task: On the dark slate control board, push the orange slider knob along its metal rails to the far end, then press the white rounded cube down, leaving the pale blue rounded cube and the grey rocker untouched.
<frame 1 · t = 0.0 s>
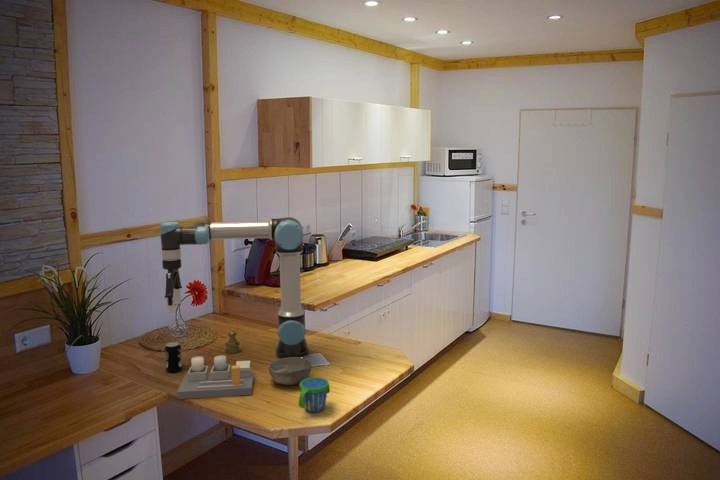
hand: (174, 308, 244), 28 cm above the table, fingers open, 13 cm apart
white rounded cube: (197, 364, 232), point 9 cm above the table, slide at 0.0 cm
orange slider: (236, 375, 225), point 7 cm above the table, slide at 0.0 cm
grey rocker: (243, 366, 234), point 7 cm above the table, hinge at -15.0°
pale blue rounded cube: (220, 363, 233), point 9 cm above the table, slide at 0.0 cm
console: (217, 387, 230), on the table
snack cup: (314, 409, 211), on the table
bowl: (290, 382, 236), on the table
green figurine: (233, 351, 272), on the table
beverage can: (174, 370, 249), on the table
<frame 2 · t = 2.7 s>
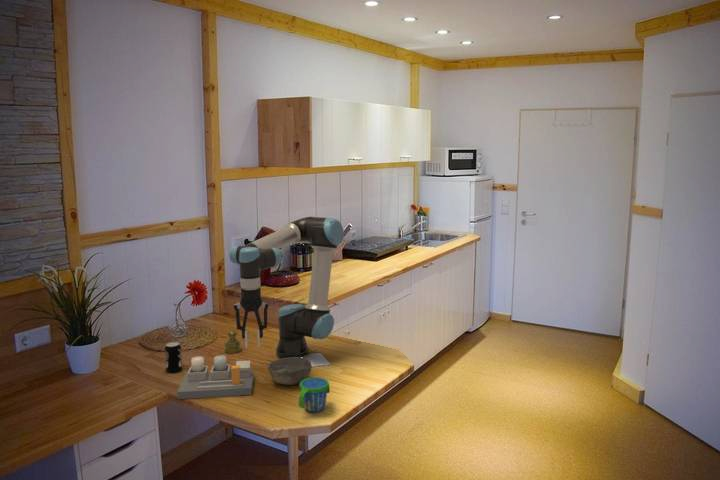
hand: (252, 345, 224), 19 cm above the table, fingers open, 4 cm apart
nothing on the table moved.
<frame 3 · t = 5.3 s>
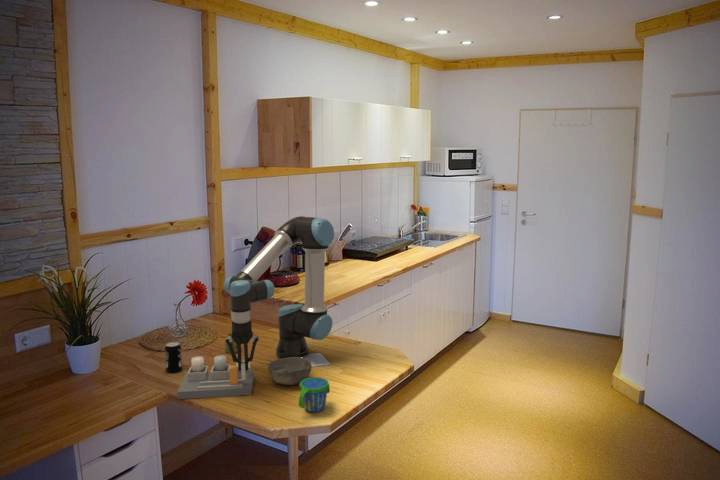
hand: (243, 378, 226), 6 cm above the table, fingers closed
orange slider: (233, 375, 225), point 7 cm above the table, slide at 0.9 cm, touching gripper
everything else where it was.
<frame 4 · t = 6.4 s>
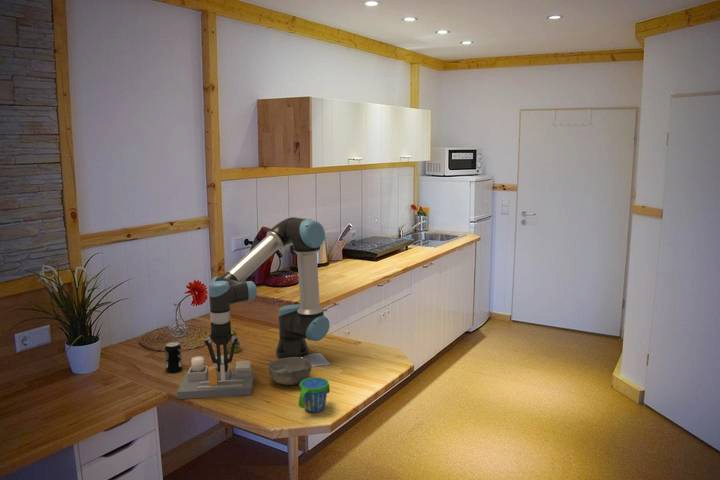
hand: (223, 379, 225), 6 cm above the table, fingers closed
orange slider: (213, 376, 224), point 7 cm above the table, slide at 8.8 cm, touching gripper
everything else where it was.
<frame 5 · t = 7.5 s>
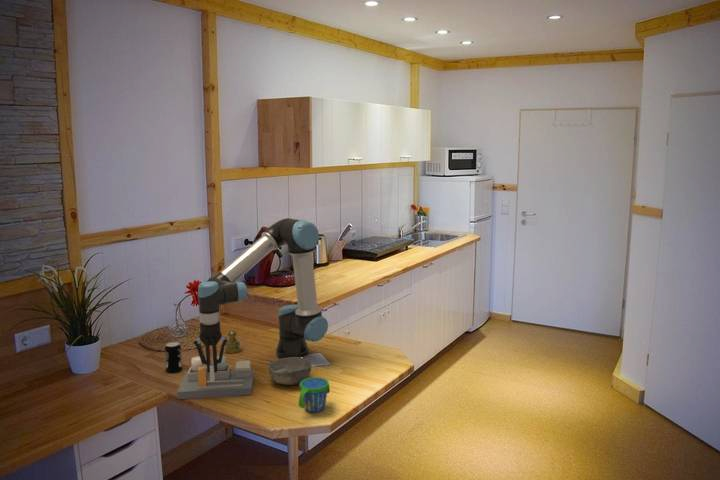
hand: (212, 379, 224), 5 cm above the table, fingers closed
orange slider: (202, 377, 224), point 7 cm above the table, slide at 12.9 cm, touching gripper
everything else where it was.
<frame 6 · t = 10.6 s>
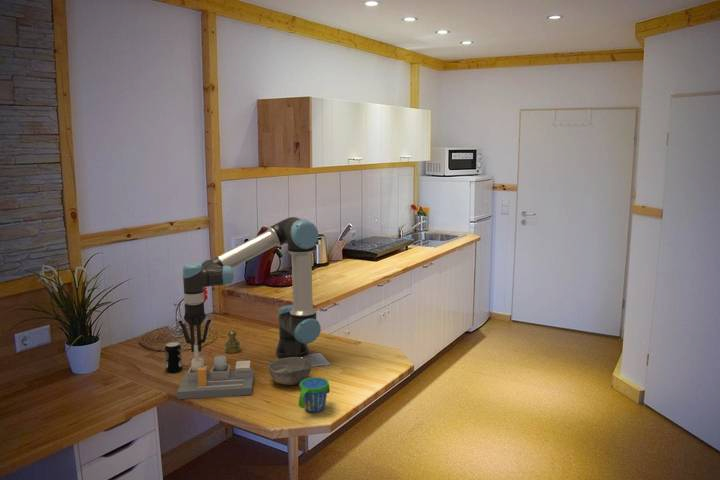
hand: (197, 359, 232), 11 cm above the table, fingers closed
white rounded cube: (197, 365, 232), point 8 cm above the table, slide at 0.5 cm, touching gripper
orange slider: (202, 377, 224), point 7 cm above the table, slide at 12.9 cm
everything else where it was.
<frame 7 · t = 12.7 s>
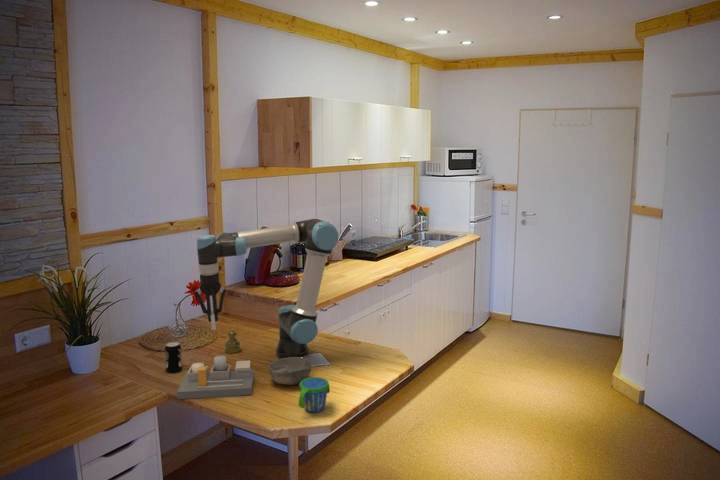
hand: (214, 328, 237), 21 cm above the table, fingers closed
white rounded cube: (198, 370, 232), point 6 cm above the table, slide at 2.7 cm
everything else where it was.
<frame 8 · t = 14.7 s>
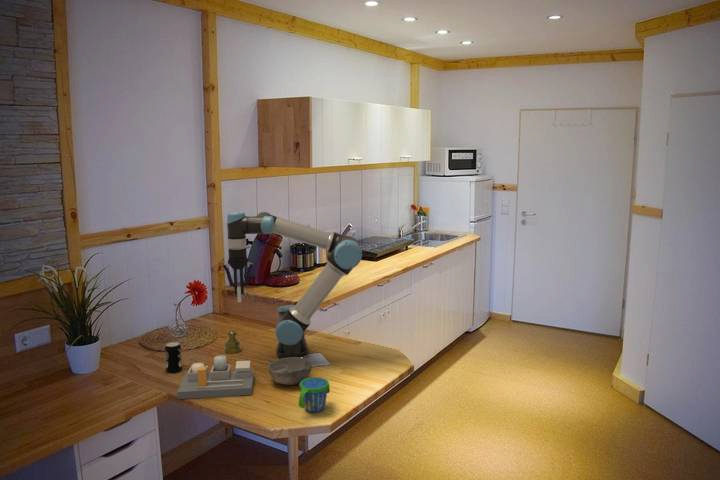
hand: (239, 301, 248), 29 cm above the table, fingers closed
nothing on the table moved.
at the end: orange slider slide at 12.9 cm; white rounded cube slide at 2.7 cm; pale blue rounded cube slide at 0.0 cm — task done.
